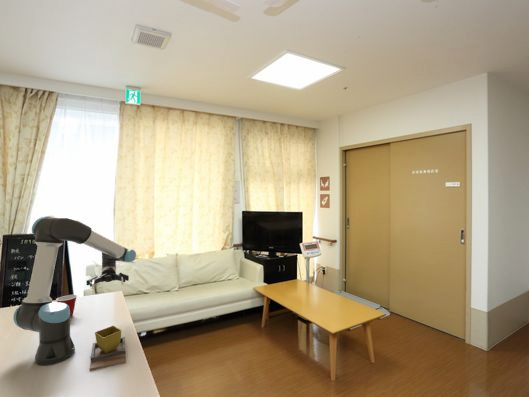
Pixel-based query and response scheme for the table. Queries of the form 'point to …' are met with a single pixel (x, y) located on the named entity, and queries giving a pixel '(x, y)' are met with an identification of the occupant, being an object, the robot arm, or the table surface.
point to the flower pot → (108, 338)
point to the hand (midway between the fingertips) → (107, 284)
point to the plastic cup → (68, 302)
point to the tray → (107, 356)
